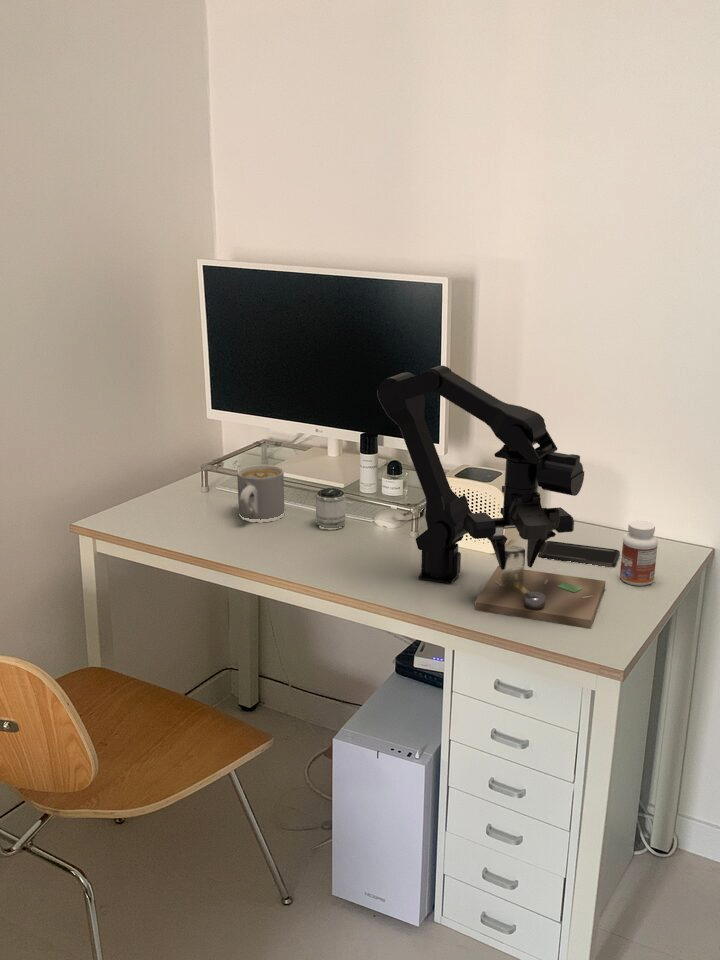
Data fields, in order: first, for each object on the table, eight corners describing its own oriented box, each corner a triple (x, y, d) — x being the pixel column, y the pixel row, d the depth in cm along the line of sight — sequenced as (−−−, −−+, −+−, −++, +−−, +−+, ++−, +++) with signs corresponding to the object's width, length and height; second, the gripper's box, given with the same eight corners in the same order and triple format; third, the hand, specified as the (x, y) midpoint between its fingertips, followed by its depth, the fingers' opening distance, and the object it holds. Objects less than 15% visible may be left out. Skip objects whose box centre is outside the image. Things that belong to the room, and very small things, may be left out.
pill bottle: (614, 573, 193) (619, 519, 189) (646, 572, 193) (651, 517, 190) (626, 587, 187) (631, 531, 183) (658, 586, 188) (664, 529, 184)
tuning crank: (549, 607, 175) (552, 568, 173) (529, 610, 174) (531, 572, 172) (512, 577, 187) (514, 541, 185) (492, 580, 186) (494, 544, 183)
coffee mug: (257, 504, 230) (256, 462, 227) (293, 512, 225) (292, 469, 222) (219, 522, 219) (217, 478, 216) (256, 531, 214) (254, 486, 211)
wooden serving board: (474, 609, 178) (475, 601, 178) (497, 573, 193) (498, 564, 193) (590, 628, 171) (591, 619, 171) (604, 588, 187) (605, 580, 186)
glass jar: (311, 528, 215) (310, 493, 213) (323, 519, 221) (323, 484, 218) (338, 532, 213) (338, 497, 211) (350, 522, 219) (350, 488, 216)
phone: (545, 540, 207) (620, 549, 202) (544, 545, 207) (620, 555, 202) (537, 554, 200) (615, 564, 195) (537, 559, 200) (614, 570, 195)
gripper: (486, 502, 168) (481, 590, 172) (591, 495, 172) (583, 581, 177) (464, 482, 178) (460, 565, 183) (563, 476, 182) (557, 557, 187)
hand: (515, 567), depth 182 cm, fingers open, 5 cm apart
